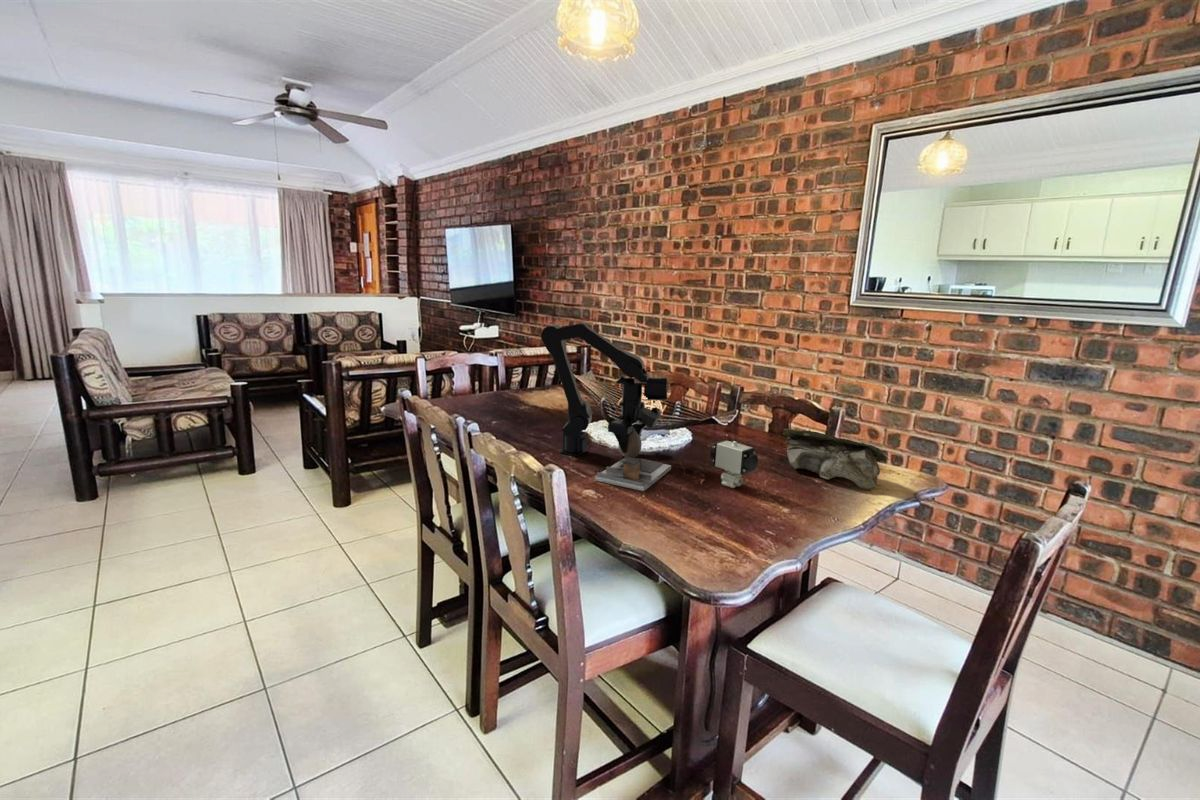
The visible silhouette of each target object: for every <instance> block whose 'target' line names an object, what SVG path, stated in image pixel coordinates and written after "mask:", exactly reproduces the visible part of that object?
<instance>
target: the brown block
mask: <svg viewBox="0 0 1200 800" xmlns="http://www.w3.org/2000/svg"><path fill="white" fill-rule="evenodd" d="M635 458H636V457H635ZM635 458H630V457H629V458H627V459H626V460H624V461H623V464H624V465H623V477H624V478H628V479H633V480H637V479H639V469H640V459H635Z"/></svg>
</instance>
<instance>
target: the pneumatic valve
mask: <svg viewBox="0 0 1200 800" xmlns="http://www.w3.org/2000/svg"><path fill="white" fill-rule="evenodd" d="M709 456H710V458H711V459H712V462H713V465H712V466H713V467H716V468H720V469H721V470H722V469H723V470H724V472H722V473H721V475H720V480H721V485H723V486H724V487H725V486H726V487H728V488H731V489H735V488H737V487H741V486H742V485H743V477H742V476H744V475H746V474H749V473H751V472H754V471H755V469H756V468H757V467H758V463H759V457H758V455H757V454H756V452H755V448H754V447H752V446H748V445H745V444H741V443H740V442H739V443H738V441H735V440H733V441H729V440H726V439H725V440H722V441H717V442H715V443H714V444H713V445H712V446H711V448H710V451H709Z"/></svg>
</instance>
